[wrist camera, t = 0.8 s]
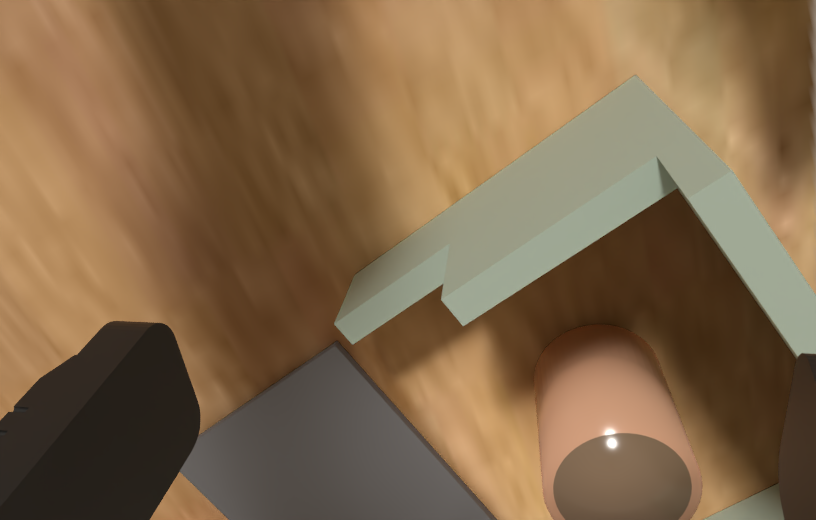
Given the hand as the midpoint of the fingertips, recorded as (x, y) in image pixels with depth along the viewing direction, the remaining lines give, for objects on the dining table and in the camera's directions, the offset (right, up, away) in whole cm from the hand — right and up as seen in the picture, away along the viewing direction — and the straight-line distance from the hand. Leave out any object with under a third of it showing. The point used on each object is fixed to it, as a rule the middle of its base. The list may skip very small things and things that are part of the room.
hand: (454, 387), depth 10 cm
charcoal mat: (-3, -12, +32) cm, 34 cm away
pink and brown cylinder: (+8, -4, +27) cm, 29 cm away
